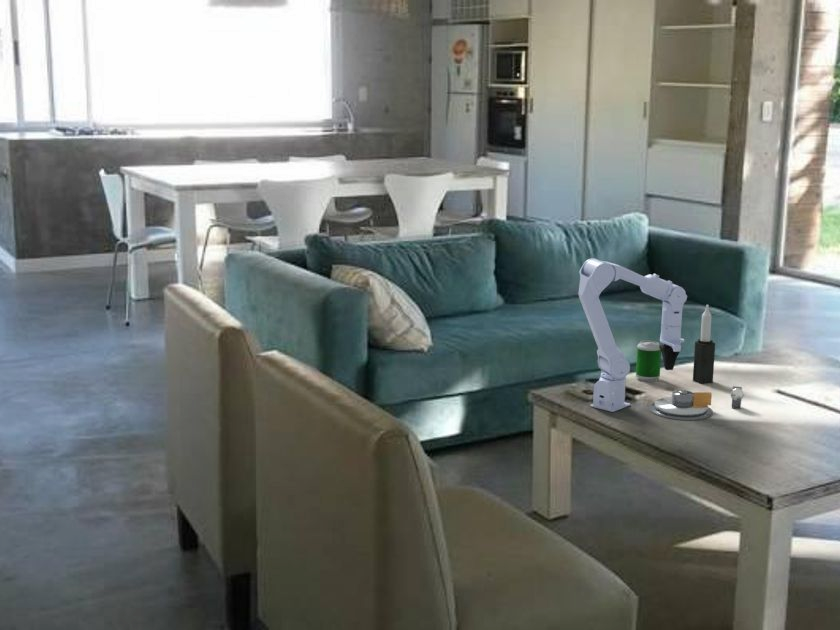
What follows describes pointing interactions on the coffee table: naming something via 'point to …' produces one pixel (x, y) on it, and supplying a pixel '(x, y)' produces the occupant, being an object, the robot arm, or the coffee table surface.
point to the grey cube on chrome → (737, 397)
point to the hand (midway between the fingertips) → (668, 369)
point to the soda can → (648, 361)
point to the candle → (704, 352)
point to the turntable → (698, 408)
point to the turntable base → (654, 411)
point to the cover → (682, 399)
